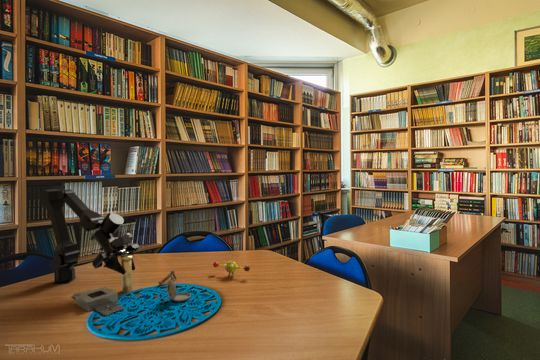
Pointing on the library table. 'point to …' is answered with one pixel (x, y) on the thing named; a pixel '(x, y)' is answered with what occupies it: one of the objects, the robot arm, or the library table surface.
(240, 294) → the library table surface
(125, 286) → the pin
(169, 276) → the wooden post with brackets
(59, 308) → the library table surface
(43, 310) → the library table surface
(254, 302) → the library table surface
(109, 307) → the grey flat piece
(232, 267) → the toy figure
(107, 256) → the robot arm
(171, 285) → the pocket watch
